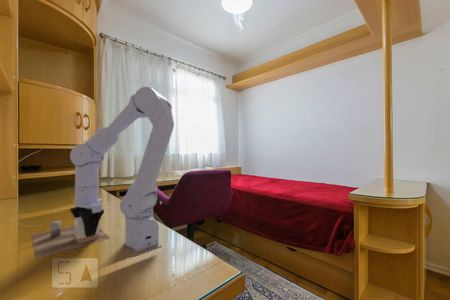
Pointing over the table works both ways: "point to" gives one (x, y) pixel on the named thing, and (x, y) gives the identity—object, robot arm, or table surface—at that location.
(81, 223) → the sleeve
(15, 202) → the table surface
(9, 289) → the table surface
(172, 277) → the table surface
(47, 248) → the pin board
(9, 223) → the table surface
